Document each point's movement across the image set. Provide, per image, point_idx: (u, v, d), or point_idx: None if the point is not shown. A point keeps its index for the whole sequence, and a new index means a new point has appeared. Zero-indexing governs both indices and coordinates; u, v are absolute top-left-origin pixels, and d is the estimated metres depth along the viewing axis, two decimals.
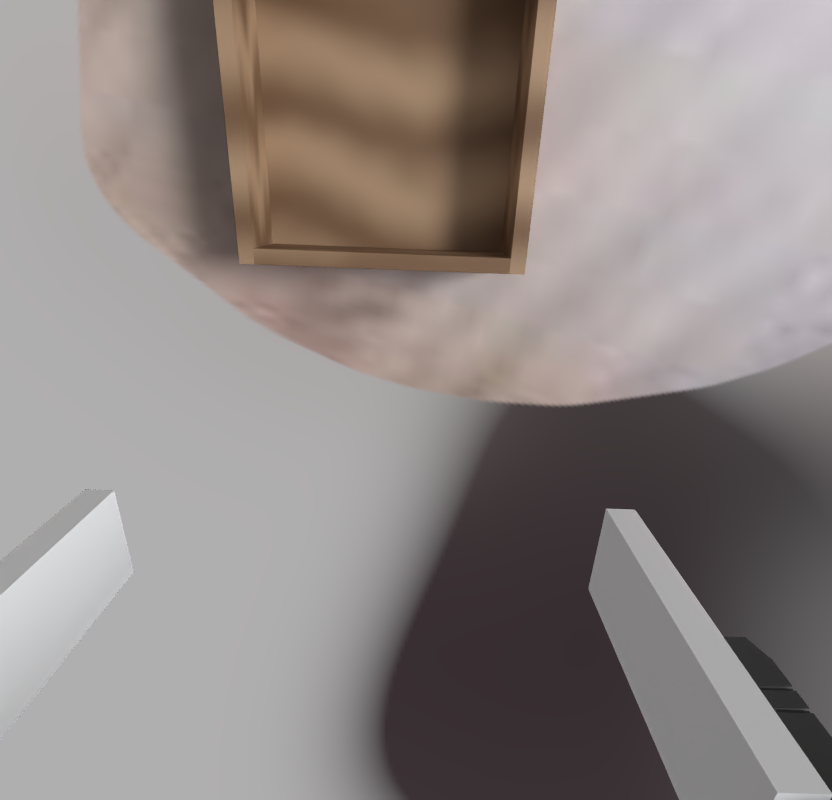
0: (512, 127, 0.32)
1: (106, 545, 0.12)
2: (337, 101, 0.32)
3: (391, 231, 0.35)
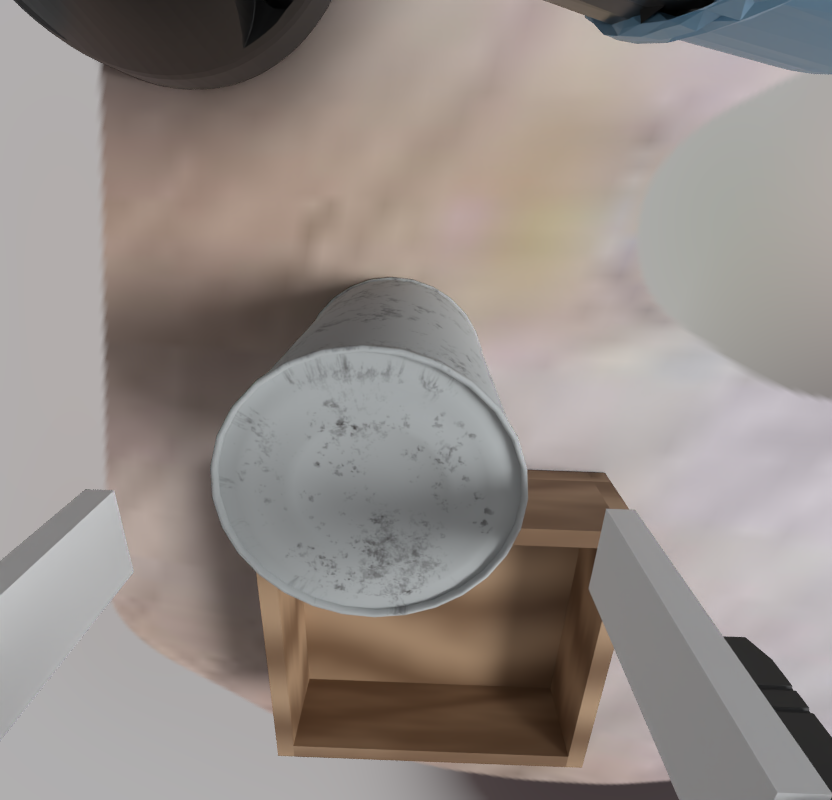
0: (568, 600, 0.30)
1: (106, 545, 0.12)
2: None
3: (435, 671, 0.33)
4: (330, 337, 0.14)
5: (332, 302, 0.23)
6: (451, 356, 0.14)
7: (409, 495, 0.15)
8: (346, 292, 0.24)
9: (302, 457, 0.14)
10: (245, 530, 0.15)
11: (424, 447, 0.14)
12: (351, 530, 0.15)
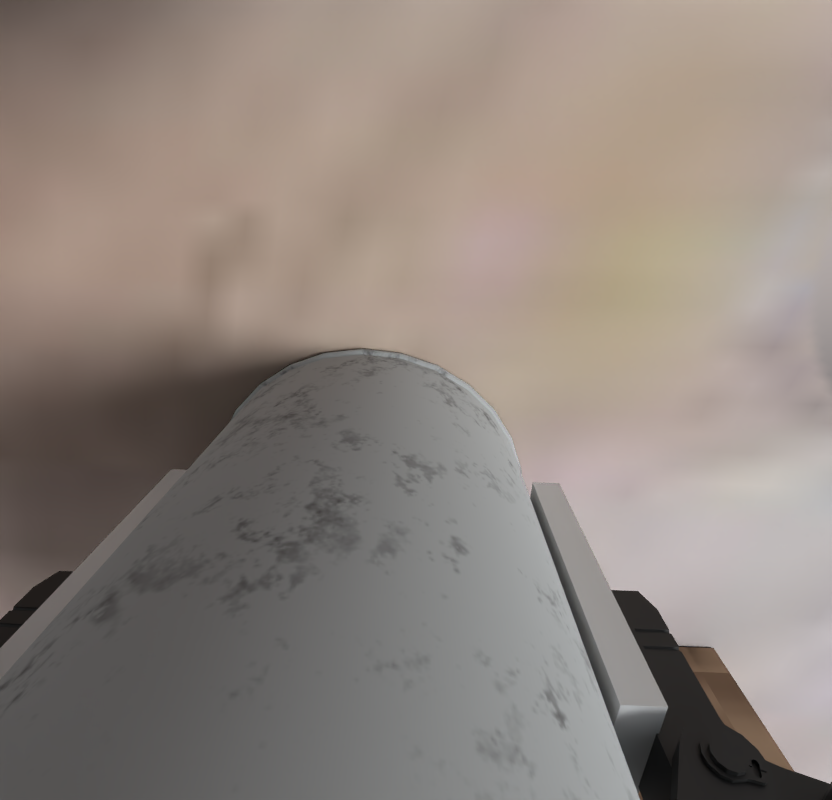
0: None
1: None
2: None
3: None
4: (45, 770, 0.04)
5: (253, 398, 0.13)
6: None
7: None
8: (280, 377, 0.13)
9: None
10: None
11: None
12: None
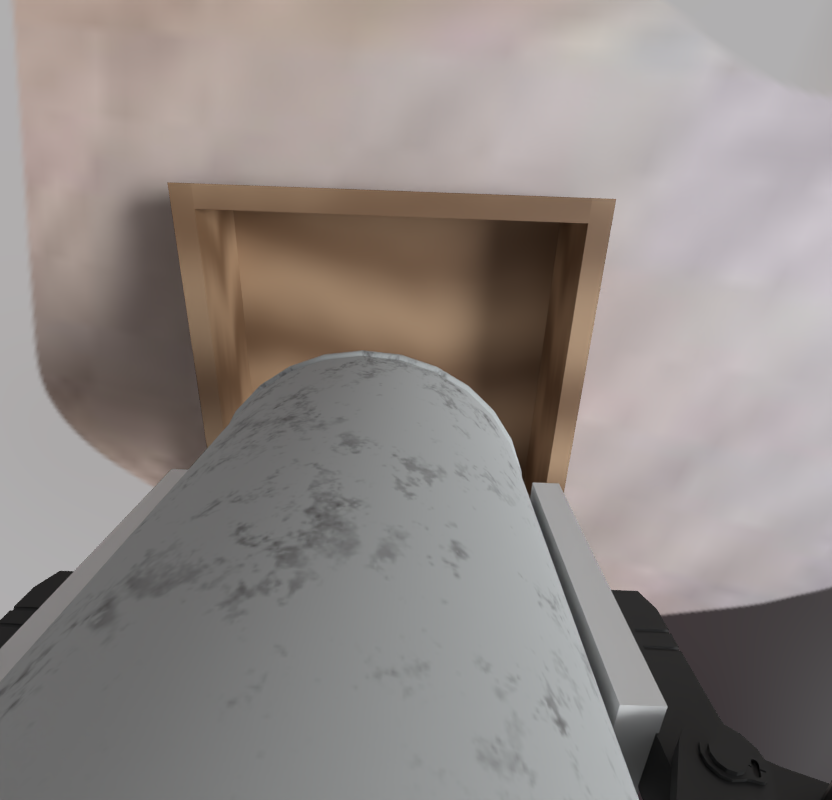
0: (539, 364, 0.28)
1: None
2: (334, 337, 0.27)
3: None
4: (41, 780, 0.04)
5: (252, 399, 0.13)
6: None
7: None
8: (279, 379, 0.13)
9: None
10: None
11: None
12: None
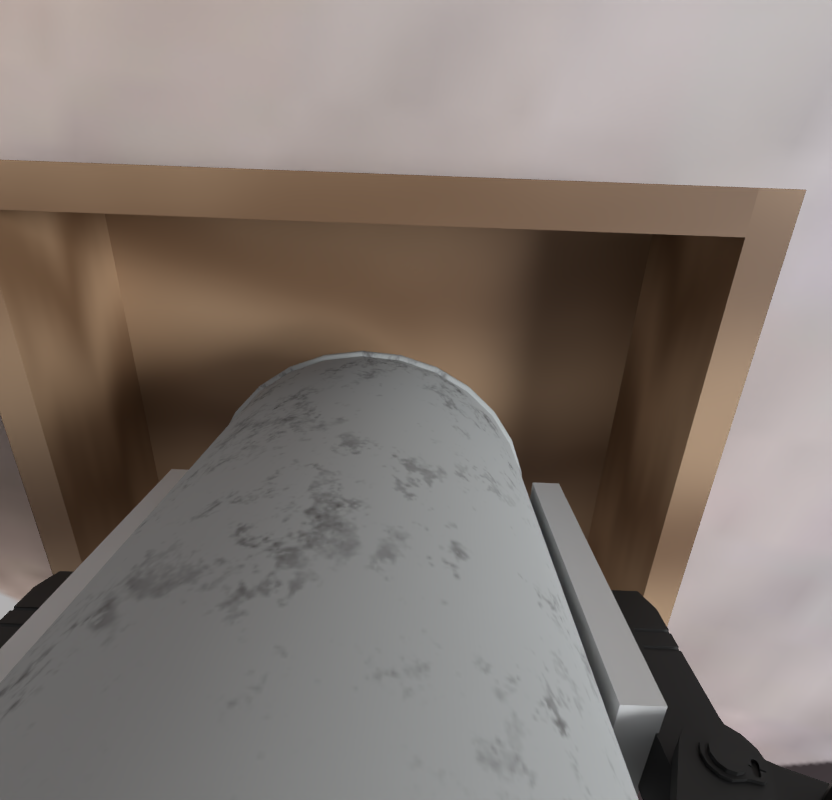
0: (605, 452, 0.18)
1: None
2: None
3: None
4: (42, 780, 0.04)
5: (252, 400, 0.13)
6: None
7: None
8: (279, 379, 0.13)
9: None
10: None
11: None
12: None
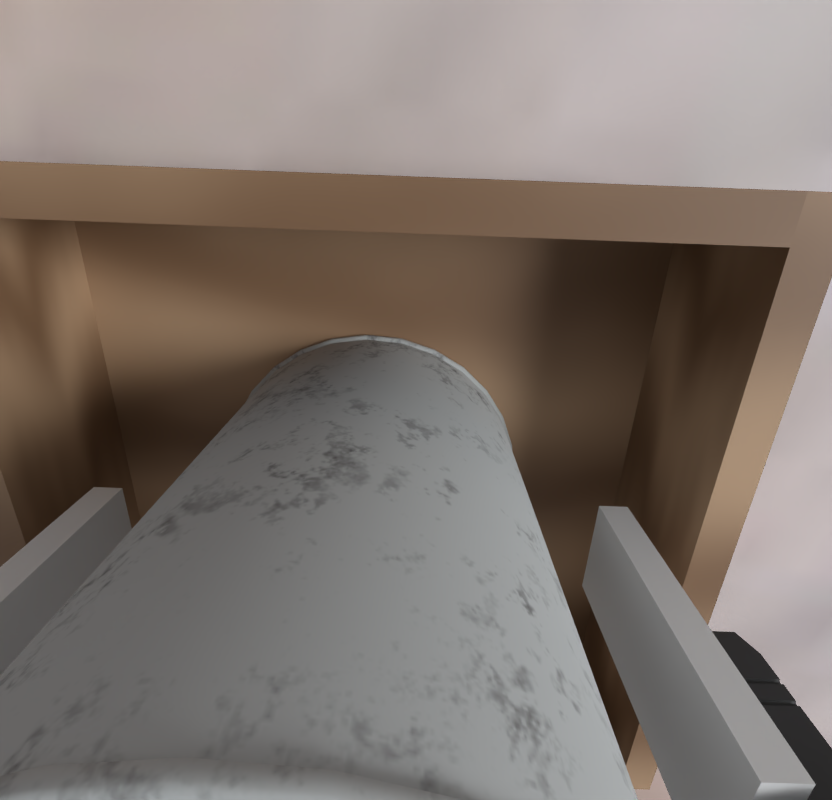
0: (620, 476, 0.16)
1: (114, 542, 0.12)
2: None
3: None
4: (144, 615, 0.05)
5: (268, 378, 0.14)
6: (492, 657, 0.05)
7: None
8: (292, 360, 0.14)
9: None
10: None
11: None
12: None
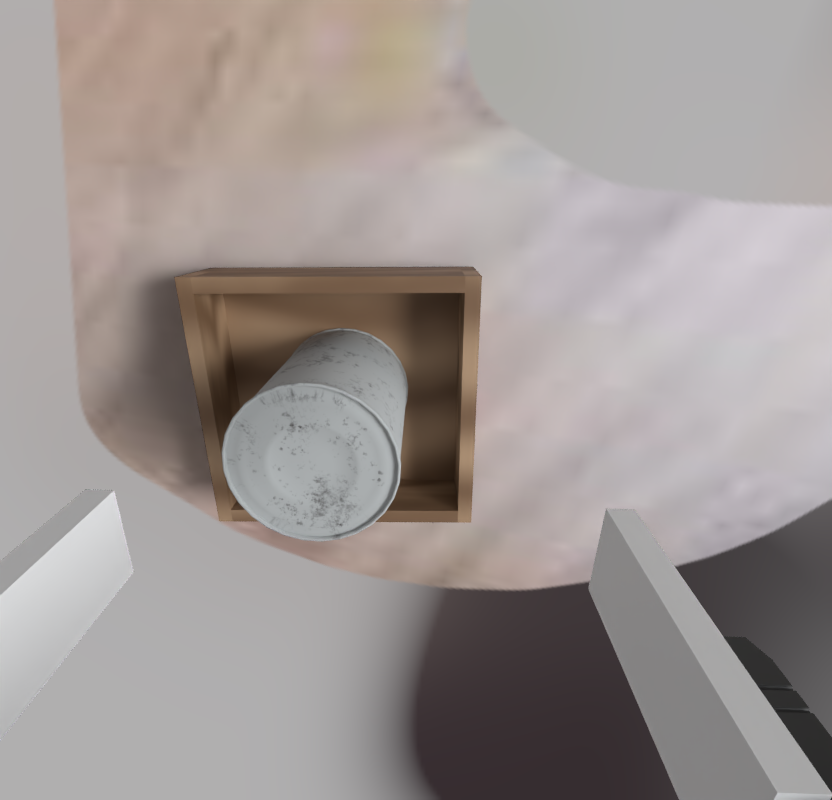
0: (456, 387, 0.37)
1: (106, 545, 0.12)
2: None
3: None
4: (286, 377, 0.25)
5: (300, 347, 0.35)
6: (355, 385, 0.25)
7: (334, 465, 0.26)
8: (309, 339, 0.35)
9: (272, 445, 0.25)
10: (242, 490, 0.26)
11: (339, 436, 0.25)
12: (304, 487, 0.26)
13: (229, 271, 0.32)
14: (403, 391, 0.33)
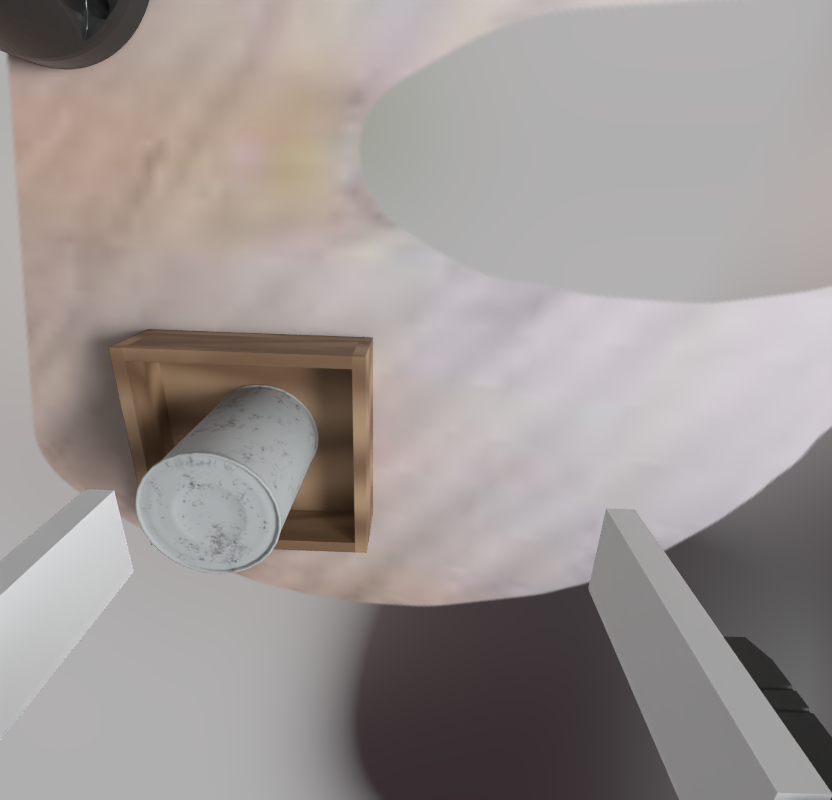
0: None
1: (106, 545, 0.12)
2: None
3: None
4: (190, 443, 0.31)
5: (222, 400, 0.40)
6: (246, 451, 0.32)
7: (228, 515, 0.32)
8: (231, 393, 0.41)
9: (176, 498, 0.31)
10: (154, 531, 0.32)
11: (231, 493, 0.31)
12: (204, 531, 0.32)
13: (160, 337, 0.38)
14: (307, 443, 0.39)
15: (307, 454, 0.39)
